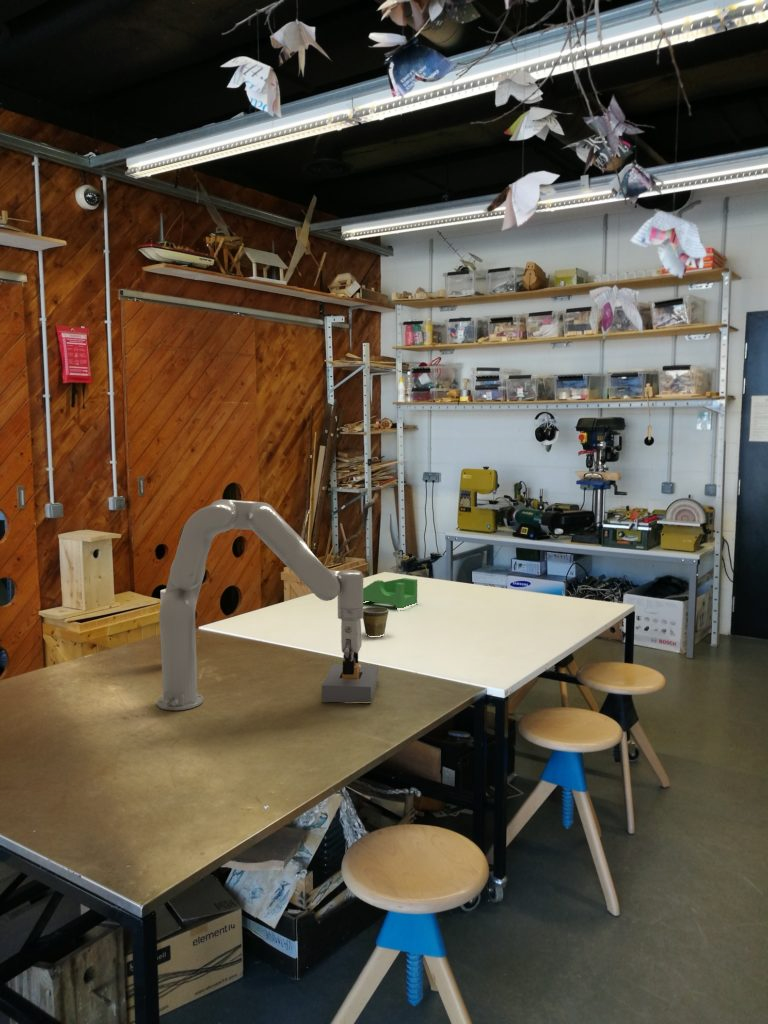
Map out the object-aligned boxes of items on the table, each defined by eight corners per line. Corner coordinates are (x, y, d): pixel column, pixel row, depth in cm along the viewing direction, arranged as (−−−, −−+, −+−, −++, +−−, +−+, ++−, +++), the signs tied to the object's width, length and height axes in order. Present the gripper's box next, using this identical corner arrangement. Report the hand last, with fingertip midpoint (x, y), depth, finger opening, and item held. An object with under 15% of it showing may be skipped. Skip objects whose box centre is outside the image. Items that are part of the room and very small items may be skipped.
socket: (370, 704, 216) (370, 684, 216) (322, 702, 218) (321, 682, 217) (377, 681, 236) (377, 662, 236) (333, 679, 238) (332, 661, 237)
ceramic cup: (392, 637, 286) (392, 611, 285) (367, 640, 283) (367, 613, 281) (379, 629, 298) (379, 604, 297) (355, 631, 295) (355, 606, 293)
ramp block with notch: (417, 606, 339) (417, 579, 338) (400, 612, 328) (400, 584, 327) (372, 599, 352) (372, 574, 351) (355, 605, 341) (355, 578, 340)
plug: (357, 690, 224) (357, 661, 223) (342, 690, 225) (342, 660, 224) (359, 685, 229) (359, 656, 228) (344, 685, 229) (344, 656, 228)
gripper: (359, 619, 216) (359, 679, 217) (366, 606, 233) (366, 660, 234) (333, 619, 216) (333, 678, 218) (342, 605, 233) (342, 660, 235)
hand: (350, 669), depth 226 cm, fingers open, 9 cm apart
